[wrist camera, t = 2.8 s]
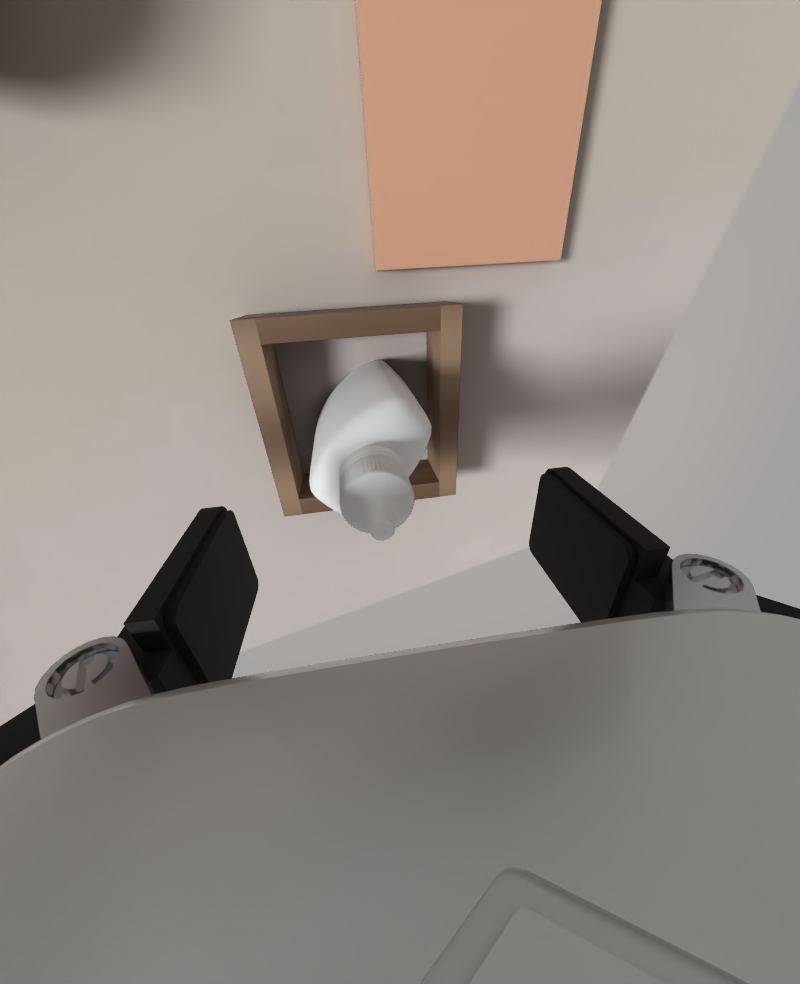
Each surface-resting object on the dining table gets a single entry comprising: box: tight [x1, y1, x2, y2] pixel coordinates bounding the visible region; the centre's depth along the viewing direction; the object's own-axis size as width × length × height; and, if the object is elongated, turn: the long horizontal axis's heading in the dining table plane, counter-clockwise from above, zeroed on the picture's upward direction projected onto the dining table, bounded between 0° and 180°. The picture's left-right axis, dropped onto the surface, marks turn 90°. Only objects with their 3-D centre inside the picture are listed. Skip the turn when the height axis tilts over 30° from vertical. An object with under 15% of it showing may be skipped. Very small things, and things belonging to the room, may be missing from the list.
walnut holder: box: [230, 301, 463, 516], centre depth 19 cm, size 10×10×3 cm
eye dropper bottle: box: [309, 360, 431, 540], centre depth 15 cm, size 4×6×12 cm
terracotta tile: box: [355, 0, 602, 271], centre depth 14 cm, size 9×9×1 cm
